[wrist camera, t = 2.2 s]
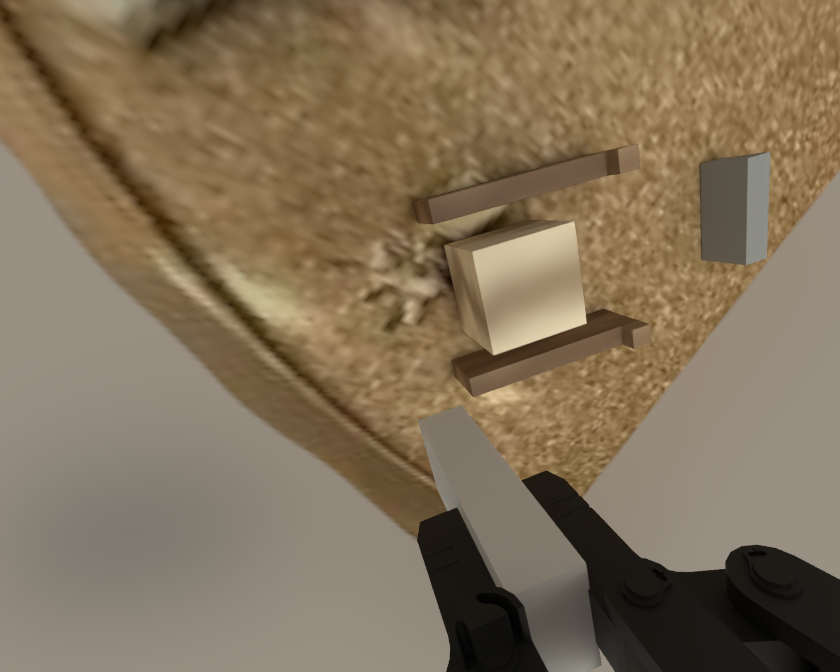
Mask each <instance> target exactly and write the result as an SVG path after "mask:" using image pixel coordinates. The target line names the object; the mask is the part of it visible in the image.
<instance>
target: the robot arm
mask: <svg viewBox="0 0 840 672" xmlns="http://www.w3.org/2000/svg"><path fill="white" fill-rule="evenodd" d="M418 423H419V427H420V430H421V434H422V437H423V441H424V444H425V448H426V451H427V454H428V458H429V461H430V465H431V468H432V472H433V475H434V479H435V482H436V486H437V489H438V491H439V494H440V496H441V498H442V500H443V502H444V504H445V507H446V509H447V512H444V513H442V514H439V515H437V516H434V517H431V518H429V519H426V520H424V521H421V522H420V526H419V532H418V538H417V541H418V544H419V547H420V550H421V553H422V556H423V560H424V563H425V566H426V569H427V572H428V575H429V578H430V581H431V585H432V588H433V590H434V594H435V597H436V600H437V603H438V606H439V609H440V612H441V615H442V619H443V622H444V625H445V628H446V631H447V634H448V638H449V643H450V660H449V664H448V667H447V671H446V672H588V671H590V670H592V669H594V668H597V667H599V666H601V658H600V652H599V648H600V650H601V651H602V653H603V654H604V656H605V657H606V659H607V660H608V662H609V663H610V665H611V666H612V668H613V669H614V671H615V672H840V579H837V578H836V577H834V576H832V575H830V574H828V573H826V572H824V571H822V570H820V569H819V568H817V567H815V566H813V565H811V564H809V563H807V562H805V561H803V560H802V559H800V558H798V557H796V556H794V555H791V554H789V553H786V552H784V551H782V550H779V549H777V548H772V547H767V546H761V545H750V546H741V547H739V548H737V549H735V550H734V551H732V552H730V554H729V556H728V558H727V560H726V563H725V564H726V565H725V567H726V569H719V570H708V571H697V572H675V571H670V570H668V569H666V568H665V567H664V566H662V565H661V564H659V563H656V562H653V561H651V560H648V559H645V558H641V557H639V556H638V555H637V554H636V553H635V552H634V551H632V550H631V548H629V546H628V545H627V544H626V543H625V542H624V541H623V540H622V539H621V538H620V537H619V536H618V535H617V534H616V533H615V532H614V531H613V530H612V528H610V526H609V525H608V524H607V523H606V522H605V521H604V520H603V519H602V518H601V517H600V516H599V515H598V514H597V513H596V512H595V511H594V510H593V509H592V508H590V507H589V504H588V503H587V502H586V501H585V500H584V499H583V498H582V497H581V496H579V495H578V493H577V492H576V491H575V490H574V489H573V488H572V487H571V486H570V485H569V483H568V482H567V481H566V480H565V479H563V478H561V477H559V476H557V475H555V474H552V473H550V472H548V471H544V472H541V473H539V474H536V475H534V476H531V477H529V478H526V479H524V480H520V479H519V477H518V476H517V475H516V473H515V472H514V471H513V470H512V468H511V467H510V466H509V465H508V463H507V462H506V461H505V460H504V458H503V457H502V456H501V454H500V453H499V452H498V451H497V449H496V448H495V447H494V446H493V444H492V443H491V442H490V440H489V439H488V438H487V437H486V435H485V434H484V433H483V432H482V430H481V429H480V428H479V427H478V425H477V424H476V423H475V421H474V420H473V419H472V418H471V416H470V415H469V414H468V413H467V411H466V410H465V409H464V407H463V406H462V405H460V406H457V407H454V408H451V409H449V410H446V411H443V412H440V413H437V414H435V415H432V416H429V417H426V418H423V419H421V420H418Z"/></svg>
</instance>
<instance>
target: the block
mask: <svg viewBox="0 0 840 672" xmlns="http://www.w3.org/2000/svg"><path fill="white" fill-rule="evenodd" d="M444 248H445V252H446V257H447V261H448V266H449V270H450V274H451V279H452V283H453V287H454V292H455V296H456V300H457V305H458V309H459V314H460V318H461V322H462V327H463V331H464V333H466V334H467V335H468V336H469V337H471V338H472V339H473V340H475V341H476V342H477V343H478V344H480V345H481V346H482V347H483V348H485V349H486V350H487V351H489V352H490V353H491V354H492V355H496V354H499V353H502V352H505V351H508V350H511V349H514V348H517V347H520V346H523V345H526V344H529V343H531V342H534V341H537V340H540V339H543V338H546V337H549V336H552V335H555V334H558V333H561V332H564V331H566V330H569V329H572V328H575V327H578V326H581V325H584V324H587V321H586V313H585V305H584V296H583V288H582V280H581V272H580V264H579V255H578V247H577V239H576V231H575V223H574V221H549V220H527V221H524V222H521V223H517V224H514V225H510V226H507V227H504V228H500V229H497V230H493V231H490V232H486V233H483V234H480V235H476V236H473V237H469V238H466V239H463V240H459V241H456V242H452V243H449V244H446V245H444Z"/></svg>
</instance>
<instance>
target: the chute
mask: <svg viewBox="0 0 840 672" xmlns="http://www.w3.org/2000/svg"><path fill="white" fill-rule="evenodd" d="M639 168H640V159H639V144H635V145H630V146H625V147H620V148H616V149H611V150H606V151H602V152H597V153H592V154H588V155H584V156H580V157H577V158H573V159H569V160H566V161H562V162H558V163H554V164H551V165H547V166H543V167H540V168H536V169H532V170H528V171H525V172H521V173H517V174H514V175H510V176H506V177H502V178H499V179H495V180H491V181H488V182H484V183H480V184H476V185H473V186H469V187H465V188H462V189H458V190H454V191H450V192H447V193H443V194H439V195H436V196H432V197H428V198H424V199H421V200H417V201H413V203H414V207H415V211H416V215H417V219H418V223H425V224H436V223H440V222H443V221H447V220H451V219H454V218H458V217H461V216H465V215H468V214H472V213H476V212H479V211H483V210H486V209H490V208H493V207H497V206H501V205H504V204H508V203H511V202H515V201H518V200H522V199H526V198H529V197H533V196H536V195H540V194H543V193H547V192H550V191H554V190H558V189H561V188H565V187H568V186H572V185H575V184H579V183H583V182H586V181H590V180H593V179H597V178H600V177H604V176H608V175H615V174H621V173H625V172H628V171H632V170H636V169H639ZM586 321H587V324H584V325H581V326H578V327H575V328H572V329H569V330H566V331H564V332H561V333H558V334H555V335H552V336H549V337H546V338H543V339H540V340H537V341H534V342H531V343H529V344H526V345H523V346H520V347H517V348H514V349H511V350H508V351H505V352H502V353H499V354H496V355H492V354H491V353H490V352H489V351H487V350H486V349H484V350H481V351H478V352H475V353H472V354H470V355H467V356H464V357H461V358H458V359H455V360H452V364H453V368H454V373H455V377H456V378H457V379H458V380H459V381H460V383H461V384H462V385H463V386H464V387H465V388H466V389H467V391H468V392H469V393H470V394H471V395H472V396H473V397H475V396H478V395H481V394H484V393H486V392H489V391H492V390H495V389H498V388H501V387H503V386H506V385H509V384H512V383H515V382H518V381H520V380H523V379H526V378H529V377H532V376H534V375H537V374H540V373H543V372H546V371H549V370H551V369H554V368H557V367H560V366H563V365H566V364H568V363H571V362H574V361H577V360H580V359H583V358H585V357H588V356H591V355H594V354H597V353H599V352H602V351H605V350H608V349H611V348H614V347H616V346H619V345H622V344H623V345H626V346H628V347H630V348H633V349H635V348H638V347H641V346H644V345H646V344H649V343H651V331H650V324H648V323H645V322H641V321H638V320H635V319H632V318H629V317H626V316H623V315H620V314H617V313H614V312H611V311H608V310H605V309H603V310H600V311H597V312H594V313H591V314H588V315H586Z"/></svg>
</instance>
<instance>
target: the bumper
mask: <svg viewBox="0 0 840 672" xmlns="http://www.w3.org/2000/svg"><path fill="white" fill-rule="evenodd" d="M769 175H770V152H764V153H757V154H749V155H742V156H735V157H727V158H720V159H717V160H713V161H710V162H706V163H703V164H700V181H701V236H702V260H708V261H716V262H724V263H733V264H741V265H748V264H751V263H754V262H757V261H760V260H763V259H765V258H767V233H768V204H769Z"/></svg>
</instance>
